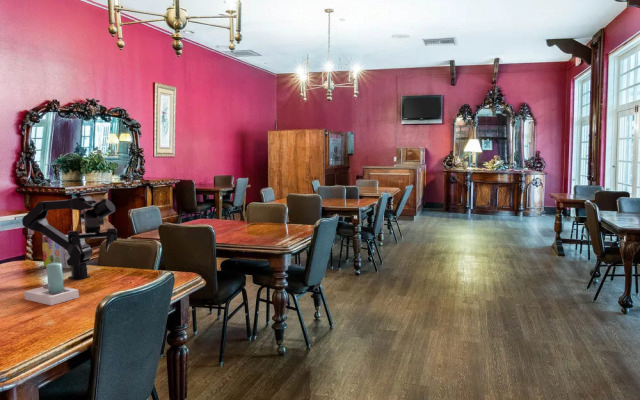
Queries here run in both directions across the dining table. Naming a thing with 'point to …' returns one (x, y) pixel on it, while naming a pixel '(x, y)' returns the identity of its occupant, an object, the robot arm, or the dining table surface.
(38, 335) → the dining table surface
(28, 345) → the dining table surface
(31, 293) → the socket plate
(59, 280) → the plug
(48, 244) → the snack box
